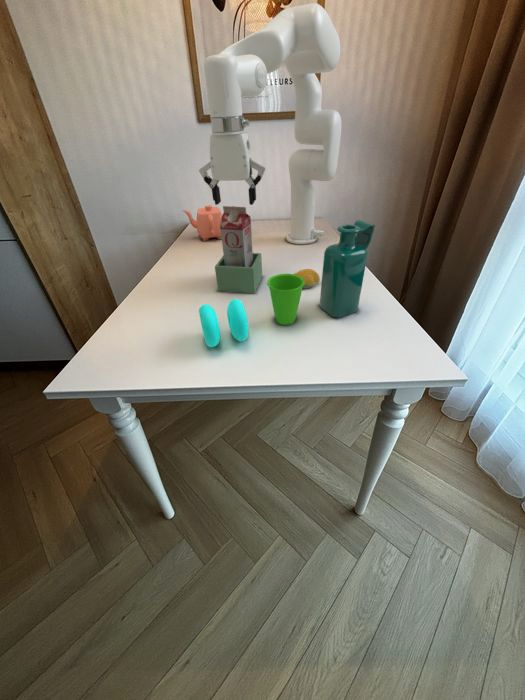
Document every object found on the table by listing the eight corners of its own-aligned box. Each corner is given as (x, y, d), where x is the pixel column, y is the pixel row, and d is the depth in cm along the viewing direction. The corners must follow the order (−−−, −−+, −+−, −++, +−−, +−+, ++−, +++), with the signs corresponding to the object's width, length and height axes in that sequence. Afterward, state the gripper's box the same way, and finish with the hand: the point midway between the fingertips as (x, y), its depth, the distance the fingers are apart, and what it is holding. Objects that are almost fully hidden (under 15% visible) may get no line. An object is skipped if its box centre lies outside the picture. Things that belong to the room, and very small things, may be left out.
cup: (306, 313, 83) (308, 275, 77) (298, 332, 77) (299, 292, 70) (274, 308, 86) (273, 271, 79) (263, 326, 79) (261, 287, 72)
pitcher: (335, 320, 80) (346, 234, 67) (316, 305, 86) (323, 224, 73) (364, 310, 84) (380, 226, 70) (344, 297, 90) (355, 217, 76)
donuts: (251, 348, 72) (248, 311, 66) (208, 356, 70) (201, 320, 64) (241, 325, 80) (237, 290, 74) (202, 332, 78) (196, 297, 72)
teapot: (186, 239, 135) (181, 208, 127) (212, 228, 145) (208, 199, 137) (212, 245, 127) (207, 212, 120) (237, 233, 138) (234, 203, 130)
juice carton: (246, 286, 95) (241, 210, 81) (227, 284, 97) (218, 209, 83) (254, 277, 100) (249, 204, 86) (235, 275, 102) (227, 203, 88)
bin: (262, 276, 102) (261, 253, 97) (254, 293, 93) (253, 268, 88) (228, 275, 104) (226, 251, 99) (218, 291, 96) (214, 266, 91)
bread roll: (323, 281, 98) (324, 269, 96) (306, 291, 93) (307, 279, 91) (302, 274, 103) (303, 262, 100) (285, 283, 98) (285, 271, 95)
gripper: (266, 123, 75) (268, 199, 86) (198, 126, 78) (209, 199, 89) (259, 126, 69) (263, 207, 80) (187, 129, 72) (200, 207, 83)
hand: (234, 203), depth 84 cm, fingers open, 9 cm apart
